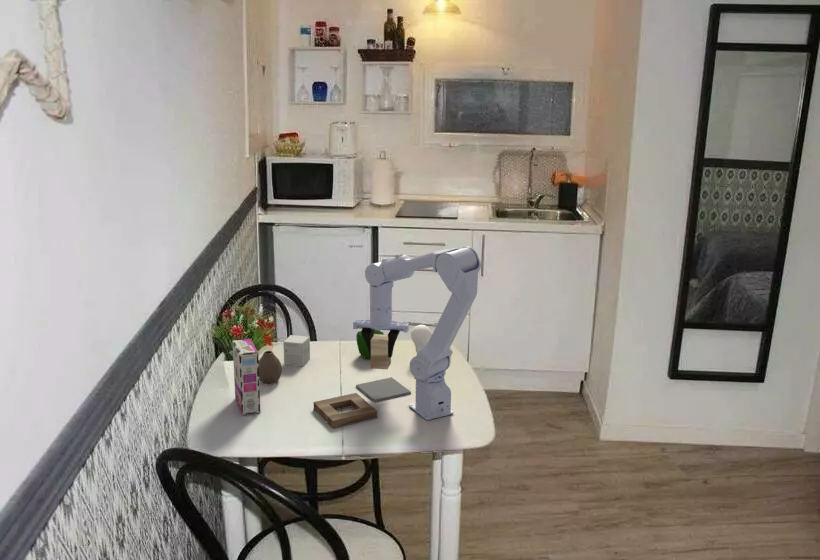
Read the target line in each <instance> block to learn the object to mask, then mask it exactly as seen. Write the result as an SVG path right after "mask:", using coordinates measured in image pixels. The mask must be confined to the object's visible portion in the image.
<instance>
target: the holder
mask: <svg viewBox="0 0 820 560" xmlns="http://www.w3.org/2000/svg"><path fill="white" fill-rule="evenodd" d="M345 408H352V410H348V411H344V412H338V410H341V409H345ZM313 410H314V411H315V412H316V413H317V414H318V415H319V416H320V417H321V419H323V420H324V421H325V422H326V421H327V422H328V423H327V422H326V423H327V424H328V425H329V426H330V428H332V429H335V428H341V427H344V426H348V425H352V424H356V423H357V424H358V423H361V422H365V421H370V420H375V419H378V410H377V409H376V408H375V407H374V406H372V404H370V403H369V402H368V401H367V400H365V399H364V398H363V397H362V396H361V395H360V394H358V393H357V392H353V393H350V394H345V395H344V394H343V395H340V396H335V397H331V398H326V399H321V400H317V401H313Z"/></svg>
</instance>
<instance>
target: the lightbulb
mask: <svg viewBox="0 0 820 560" xmlns="http://www.w3.org/2000/svg"><path fill="white" fill-rule="evenodd" d="M432 334H433V333H432V330H431V328H429V327H428V325H424V324H418V325H416V326H414V327H413V328H412V330H411V332H410V338H411V340H412V342H413V344H414V347H415V353H416V355H417V354H418V353H419V351H420V350H421V349H422V348H423V347H424V346H425V345H426V344H427V343H428V342H429V340H430V338H431V336H432Z"/></svg>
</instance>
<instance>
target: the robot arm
mask: <svg viewBox="0 0 820 560" xmlns="http://www.w3.org/2000/svg"><path fill="white" fill-rule="evenodd" d="M431 268H432V270H433V272H434V273H437V274H438V275H439V277H440V279H441V281H442V282H443V283H444V284H445V286H446V289H447V290H448V291H449V292H450V293H451V295H450V297H449V299H448V301H447V303H446V305H445V307H444V309H443V311H442V313H441V315H440V318H439V319H438V321H437V324H436V326H435V327H434V329H433V332H432V333H431V334H432V336H431V338H430V340H429V342H428V343H427V344H426V345H425V346H424V347H423V348H422V349H421V350H420V351H419V353H418V354H417V353H416V355H415V356H413V357H412V358H411V360H410V361H409V369H410V370H409V371H410V373H411V375H412V376H413V377H414V378H413V379H414V380H415V402H412V403H408V407H409V408H411V409H412V410H413V411H414V412H415V413H417V414H418V415H419V416H420V417H422V418H424V419H425V420H427V421H430V420H434V419H437V418H442V417H445V416H450V415H453V414H454V412H455V411H453V410H452V390H451V388H450V387H449V386H448V385H447V383H446V380H445V376H446V375H447V374H446V372H447V370H448V369H449V368H450V366H451V362H452V361H451V357H452V355H453V350H452V348H451V347H452V345H453V342H454V340H455V338H456V336H457V335H458V332H459V331H460V328H461V327H462V325H463V323H464V321H465V319H466V316H467V315H468V313H469V310H470V309H471V307H472V305H473V303H474V301H475V299H476V297H477V294H478V285H479V283H478V281H479V273H480V270H481V268H482V263H481V260H480V257H479V255H478V253H477V251H476V250H475V248H473V247H471V246H463V247H461V248H459V247H453V248H446V249H440V250H437V251H433V252H430V253H426V254H422V255H420V256H416V257H413V258H411V257H410V256H409V255H407V254H406V255H405V254H404V255H403V253H399V254H395V255H394V257H393V258H386V257H385V258H382V259H381V261H377V262H375V263H372V262H371V264H369V265H367V266H366V267H365V269H364V277H365V280H366V282H367V283H368V284H369V319H354V320H353V322H352V323H353V324H352V329H353V330H358V329H360V330H362V332H361V335H362V337H363V338H364V340H365V342H366V344H367V347H368V351H369V356H371V339H372V337H373V336H374V330H380V331H388V333H387V335H388V342H389V350H388V357H390V358H391V359H392V356H393V352H394V348H395V344H396V342H397V339H398V336H399V334H400V332H403V333H408V332H409V330H410V328H409V324H410V323H408V322H401V321H396V320H393V317H392V316H393V314H392V313H393V311H392V310H393V309H392V308H393V293H392V292H393V289H392V288H394V282H397V281H401V280H404V279H409V278H411V277H412V276H413V275H414V274H415V272H416V271H420V270H421V271H422V270H425V269H431Z"/></svg>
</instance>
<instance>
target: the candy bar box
mask: <svg viewBox="0 0 820 560" xmlns="http://www.w3.org/2000/svg"><path fill="white" fill-rule="evenodd" d="M232 359H233V377H234V382H233V383H234V399H235V401H236V404H237V406H238V408H239V412H240V413H241V416H248V415H247V414H249V415H256V414H260V413H261V394H260V391H261V390H260V388H261V387H260V380H259V360H260V357H259V352H258V350H257V348H256V347H255V345H254V343H253V341H252V339H251V338H244V339H238V340H237V339H235V340H232ZM255 413H256V414H255Z"/></svg>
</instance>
